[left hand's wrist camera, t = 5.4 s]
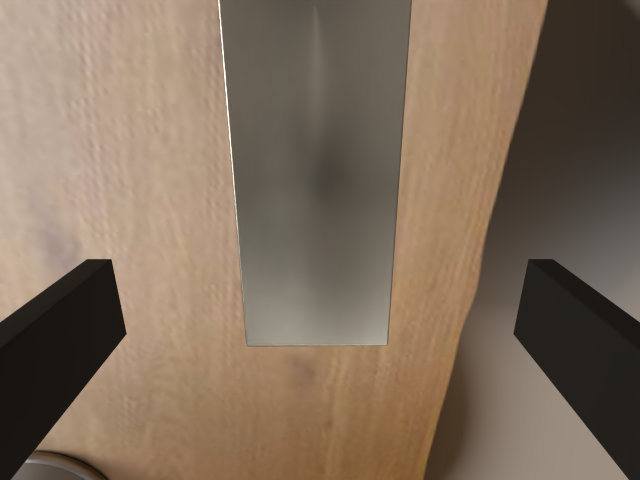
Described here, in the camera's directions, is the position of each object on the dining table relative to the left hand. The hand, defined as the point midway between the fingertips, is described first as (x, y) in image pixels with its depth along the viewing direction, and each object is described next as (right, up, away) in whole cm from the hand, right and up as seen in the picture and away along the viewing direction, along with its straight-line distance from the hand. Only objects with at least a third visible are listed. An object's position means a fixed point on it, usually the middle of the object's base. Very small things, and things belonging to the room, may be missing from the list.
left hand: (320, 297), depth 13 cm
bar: (0, +12, +8) cm, 14 cm away
